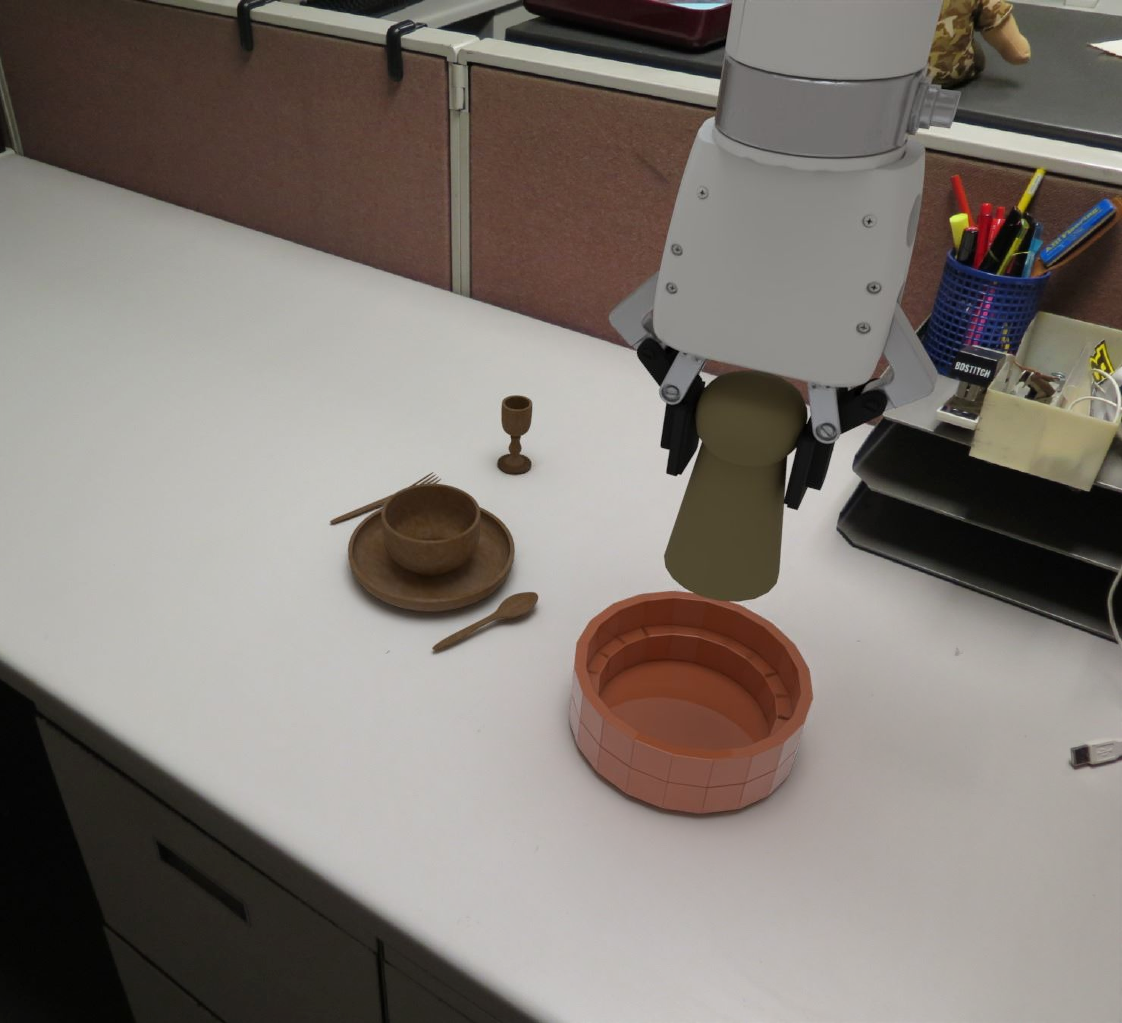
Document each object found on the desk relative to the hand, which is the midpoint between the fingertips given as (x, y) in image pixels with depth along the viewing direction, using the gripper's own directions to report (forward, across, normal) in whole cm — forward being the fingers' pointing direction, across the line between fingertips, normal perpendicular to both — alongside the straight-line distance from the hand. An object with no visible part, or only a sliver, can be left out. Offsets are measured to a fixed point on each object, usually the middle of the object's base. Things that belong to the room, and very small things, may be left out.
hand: (738, 474), depth 53 cm
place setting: (+19, +19, -10) cm, 29 cm away
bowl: (+18, 0, 0) cm, 18 cm away
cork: (+6, 0, 0) cm, 6 cm away
